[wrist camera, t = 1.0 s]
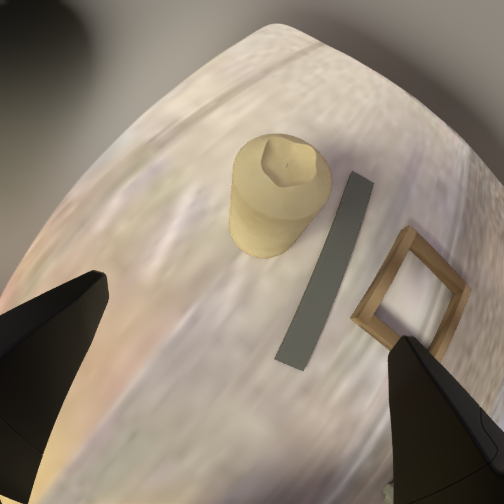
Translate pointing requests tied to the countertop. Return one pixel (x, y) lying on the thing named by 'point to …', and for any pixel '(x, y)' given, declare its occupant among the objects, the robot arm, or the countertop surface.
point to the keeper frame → (384, 279)
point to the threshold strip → (326, 275)
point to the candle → (276, 193)
